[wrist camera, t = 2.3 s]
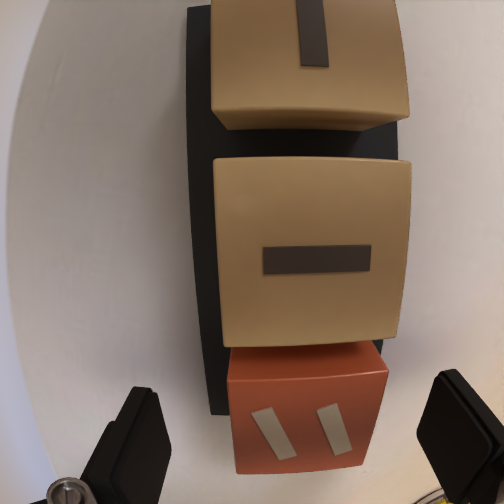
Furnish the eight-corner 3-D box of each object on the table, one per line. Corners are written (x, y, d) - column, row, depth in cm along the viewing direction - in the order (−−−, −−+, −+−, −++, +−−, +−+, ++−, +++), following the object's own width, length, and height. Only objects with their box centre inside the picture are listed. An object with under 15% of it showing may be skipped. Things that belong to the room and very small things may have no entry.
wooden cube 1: (224, 11, 9) (211, -47, 5) (352, 15, 8) (388, -36, 5) (226, 130, 10) (210, 111, 6) (362, 131, 10) (413, 117, 6)
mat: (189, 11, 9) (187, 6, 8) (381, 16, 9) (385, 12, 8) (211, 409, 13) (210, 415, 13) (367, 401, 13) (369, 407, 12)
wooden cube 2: (227, 161, 10) (211, 158, 6) (363, 161, 10) (414, 161, 6) (233, 293, 11) (223, 350, 8) (358, 288, 11) (397, 340, 7)
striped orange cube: (234, 319, 11) (226, 382, 8) (356, 314, 11) (390, 371, 8) (240, 409, 12) (236, 476, 9) (343, 404, 12) (363, 467, 9)
